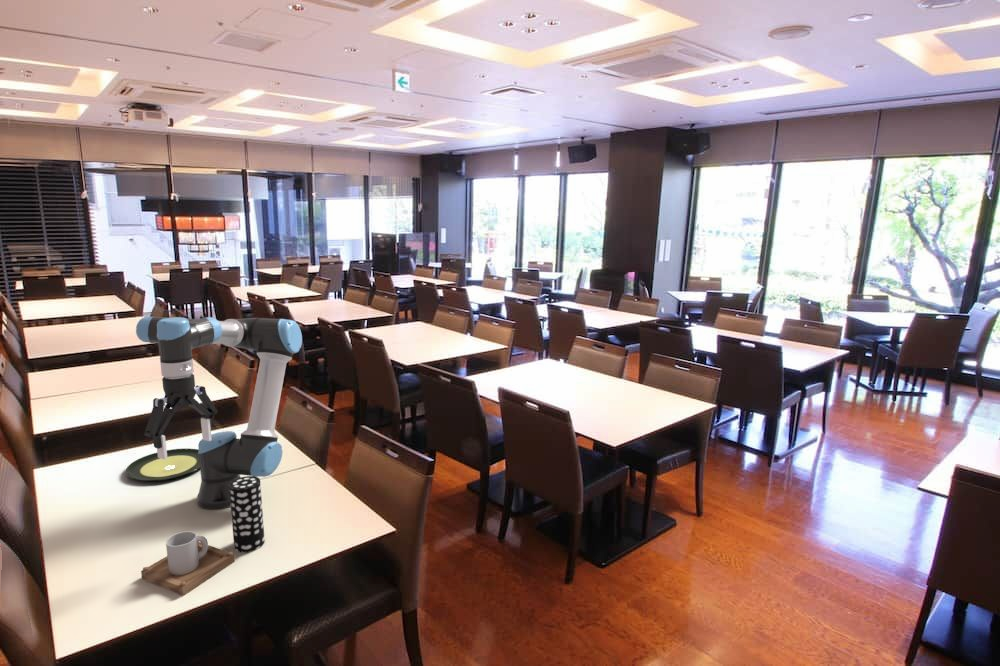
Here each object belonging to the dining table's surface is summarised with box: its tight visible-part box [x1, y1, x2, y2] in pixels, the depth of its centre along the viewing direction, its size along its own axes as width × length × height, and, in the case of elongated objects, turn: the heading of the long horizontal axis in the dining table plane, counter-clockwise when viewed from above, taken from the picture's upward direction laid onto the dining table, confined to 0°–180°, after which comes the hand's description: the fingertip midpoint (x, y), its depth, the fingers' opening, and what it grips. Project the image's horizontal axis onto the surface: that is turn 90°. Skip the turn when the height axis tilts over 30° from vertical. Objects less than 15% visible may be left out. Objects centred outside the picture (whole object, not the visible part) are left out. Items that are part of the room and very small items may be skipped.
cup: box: [165, 530, 209, 576], centre depth 152 cm, size 7×10×9 cm
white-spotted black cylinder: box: [229, 475, 266, 553], centre depth 163 cm, size 8×8×20 cm
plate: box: [124, 448, 200, 482], centre depth 213 cm, size 28×28×2 cm
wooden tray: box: [140, 541, 236, 596], centre depth 153 cm, size 16×16×3 cm
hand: (185, 448), depth 154 cm, fingers open, 13 cm apart
